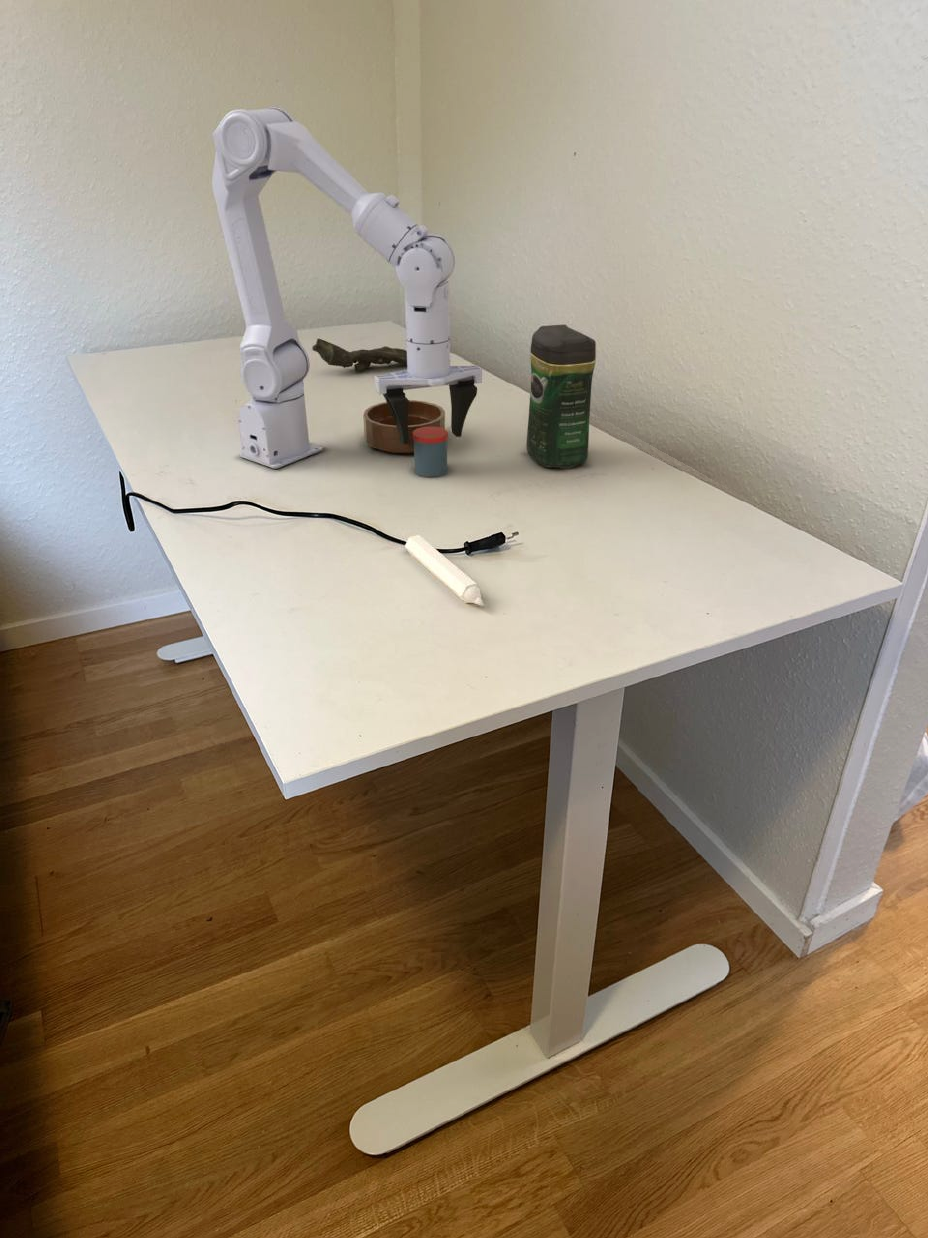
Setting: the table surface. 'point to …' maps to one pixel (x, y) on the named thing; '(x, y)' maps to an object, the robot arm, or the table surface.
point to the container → (430, 451)
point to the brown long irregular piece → (358, 355)
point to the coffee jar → (560, 396)
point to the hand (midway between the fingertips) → (430, 438)
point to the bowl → (384, 427)
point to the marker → (444, 570)
